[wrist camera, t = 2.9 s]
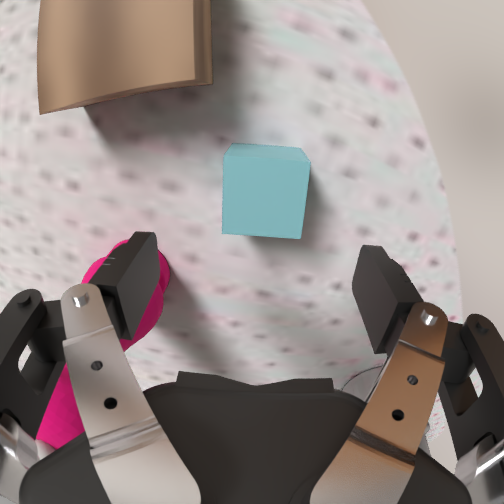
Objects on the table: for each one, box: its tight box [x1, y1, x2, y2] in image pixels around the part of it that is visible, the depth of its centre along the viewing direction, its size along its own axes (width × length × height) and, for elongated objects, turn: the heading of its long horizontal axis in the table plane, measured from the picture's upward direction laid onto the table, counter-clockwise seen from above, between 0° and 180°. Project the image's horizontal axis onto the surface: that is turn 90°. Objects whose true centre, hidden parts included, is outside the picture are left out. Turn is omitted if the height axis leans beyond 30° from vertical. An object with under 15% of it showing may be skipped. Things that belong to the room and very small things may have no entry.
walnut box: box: [37, 0, 213, 115], centre depth 14 cm, size 11×11×6 cm
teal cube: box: [222, 143, 311, 239], centre depth 20 cm, size 5×5×5 cm
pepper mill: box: [35, 240, 170, 460], centre depth 18 cm, size 7×7×20 cm
